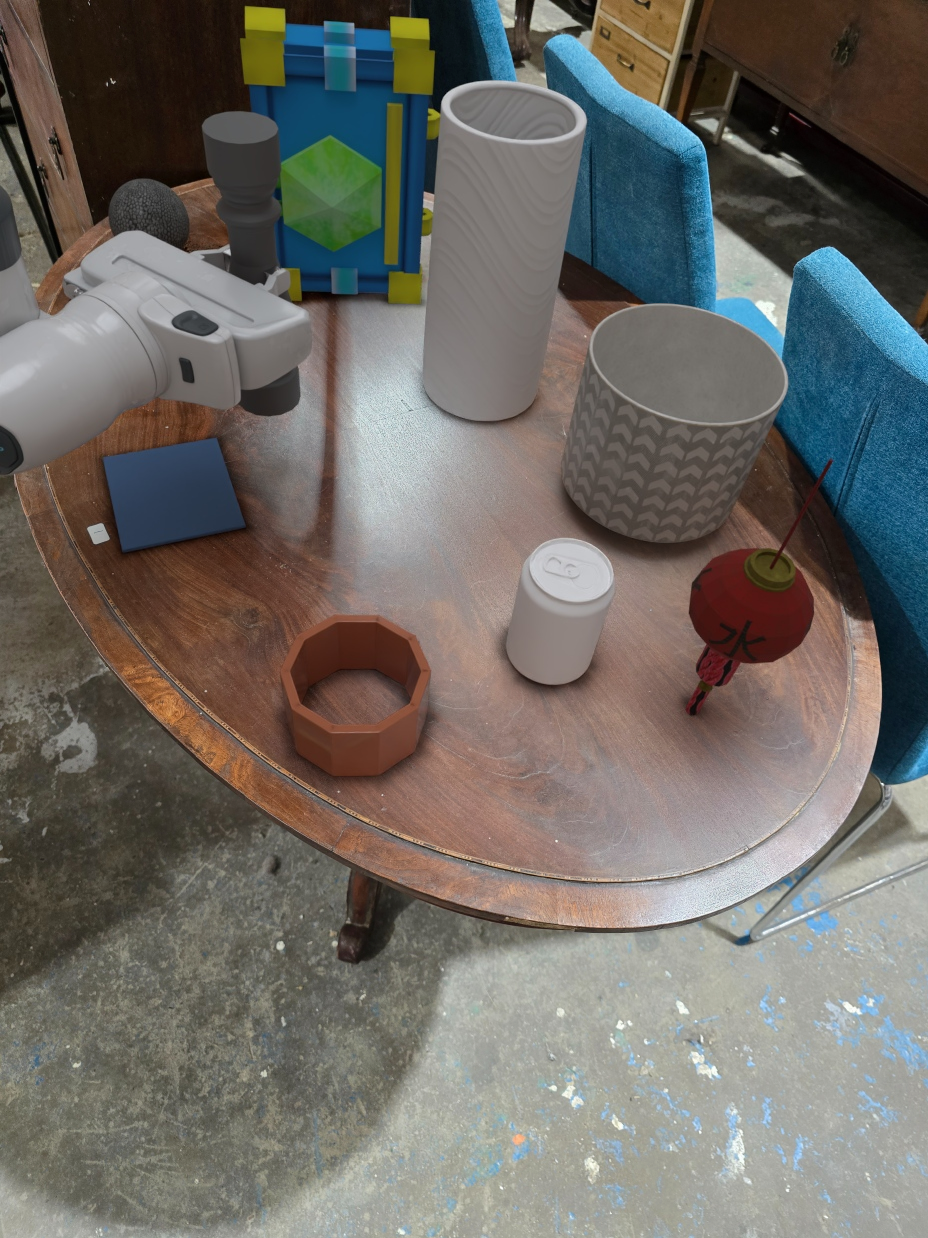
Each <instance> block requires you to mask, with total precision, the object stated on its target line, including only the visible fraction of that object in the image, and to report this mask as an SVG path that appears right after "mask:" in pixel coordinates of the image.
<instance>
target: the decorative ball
mask: <svg viewBox="0 0 928 1238" xmlns="http://www.w3.org/2000/svg"><path fill="white" fill-rule="evenodd" d="M107 213H108V223H109V227H110V231H111V233H112V235H113V237H115V236H117V235H119V234H120V233H123V232H126V231H136V230H137V231H143V232H145V233H147V234H149V235H151V236H153V237H155V238H157V239H159V240H162V241H164V242H166V243H168V244H170V245H172V246H174V247H176V248H178V249H180V250H182V251H183V249H184V248H185V246H186V244H187V242H188V240H189V237H190V229H191V227H190V218H189V217H190V216H189V213H188V210H187V207H186V206H185V204H184V202H183V200H182V199H181V198H180V196H179V195H178V194H177V193H176V192H175V191H174V189H172V188H171V187H169V185H166V184H164V183H163V182H161V181H157V180H155V179H151V178H136V179H131V180H130V181H126V182H125V183H124V184H122V185H121V186H119V187H118V189H117V190H116V191H115V192H114V194H113V196H112V197H111V200H110V202H109V206H108V212H107Z"/></svg>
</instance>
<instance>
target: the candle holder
mask: <svg viewBox="0 0 928 1238" xmlns="http://www.w3.org/2000/svg"><path fill="white" fill-rule="evenodd" d="M201 130H202V131H201V132H202V139H203V146H204V152H205V160H206V166H207V171H208V174H209V176H210V177H211V178H212V181H213V184H214V186H215V188H216V189H218V190H219V193H220V196H221V197H220V198H219V199H218V200H217V203H216V205H215V210H216V213H217V216H218V218H219V220H220V221H222V222H223V223H224V225H225V226H226V230H227V236H228V237H227V238H228V244H229V246H230V254H231V258H230V266H229V273H230V274H232V275H234V276H236V277H238V278H240V279H242V280H245V281H247V282H249V283H251V284H253V285H256V284H257V283H261V284H263V286H264V285H265V283H266V281H265V277H264V273H263V271H265V270H267V269H270V268H272V267H273V266H275V265H277V266H279V267H280V264H279V261H278V258H277V252H276V240H275V228H274V225H275V223H276V221H278V220H279V217H280V215H281V206H280V203H279V201H278V200H277V199H275V198H274V197H272V196H273V193H274V189H275V188H276V185H277V183H278V181H279V178H278V177H279V175H280V173H281V158H280V145H279V131H278V127H277V125H276V123H275V122H274V121H273V120H271V119H270V118H268V117H266V116H263V115H260V114H257V113H252V112H251V111H242V110H239V111H224V112H220V113H215V114H213V115H210V116H209V117H208V118H205V119H204V121H203V123H202V125H201ZM278 297H280V298H282V299H284V300H286V301H288V302H290V303H292V304H293V301H291V298H290V295H289V292H288V290H286V291H285V292H283V293H282V294H280V295H278ZM301 396H302V395H301V381H300V368H299V365H298V366H296V367H295V368H294V369H292V370H291V371H289V372H288V373H286V374H285V375H283V376H281V377H280V378H278V379H276V380H275V381H273V382H271V383H270V384H268V385H266V386H263V387H261V388H258V389H253V390H242V389H241V400H240V402H239V403H238V405H239V407H241V408H242V409H243V410H244V411H245V412H247V413H250V414H252V415H255V416H260V417H267V418H268V417H270V418H271V417H276V416H282V415H284V414H287V413H289V412H291V411H293V410H294V409H295V408H296V407H297V406H298V405H299V403H300V400H301Z"/></svg>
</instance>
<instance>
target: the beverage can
mask: <svg viewBox="0 0 928 1238" xmlns="http://www.w3.org/2000/svg"><path fill="white" fill-rule="evenodd" d="M616 586H617V585H616V579H615V575H614V567H613V565H612V562H611V561H610V559H609V558H608V557H607V555H606V554H605V553H604V552H603V551H602V550H601V549H599V548H598V547H597V546H595V545H594V544H591V543H589V542H587V541H585V540H581V539H578V538H574V537H573V538H572V537H557V538H553V539H549V540H546V541H545V542H542V543H541V544H540V545H538V546H537V547H536V548H535V549H534V550H533V551H532V553H531V554H529V556H528V557H527V558H526V559H525V561H524V563H523V565H522V567H521V570H520V575H519V580H518V584H517V589H516V593H515V598H514V604H513V608H512V612H511V617H510V622H509V627H508V631H507V636H506V640H505V649H506V655H507V657H508V659H509V661H510V663H511V665H513V667H514V668H515V669H516V670H517V671H518V672H519V673H520V674H521V675H522V676H524V677H526V678H527V679H529V680H531V681H534V682H536V683H539V684H544V685H549V686H550V685H551V686H555V685H565V684H568V683H572V682H574V681H576V680H577V679H579V678H580V677H582V676H583V675H584V673H586V672H587V670H588V668H589V667H590V665H591V662H592V659H593V656H594V654H595V650H596V648H597V645H598V642H599V639H600V637H601V634H602V631H603V629H604V625H605V623H606V620H607V617H608V614H609V612H610V608H611V606H612V603H613V600H614V597H615V594H616Z"/></svg>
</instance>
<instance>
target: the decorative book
mask: <svg viewBox="0 0 928 1238" xmlns="http://www.w3.org/2000/svg"><path fill="white" fill-rule="evenodd" d="M389 20H390V21H389V29H388V30H387V29H386V30H385V29H371V28H357V27H356V28H355V23H354V22H345V21H344V22H342V21H328V20H324V21H323V25H314V24H313V25H311V24H299V23H297V24H296V23H287V22H286V9H285V8H277V7H276V8H275V7H262V6H247V5H244V32H245V38H243V37H240V38H239V42H240V43H239V44H240V52H241V53H240V55H241V62H242V63H241V64H242V73H243V83H244V85H248V88H249V89H248V91H249V101H250V112H251V113H257V114H260V115H263V116H266V117H268V118H270V119H271V120H273V121H274V122H275V123H276V125H277V127H278V131H279V145H280V158H281V173H280V175H279V177H278V178H279V181H278V183H277V185H276V188H275V189H274V193H273V196H272V197H274V198H275V199H277V200H278V201H279V203H280V206H281V215H280V217H279V220H278V221H276V223H275V225H274V228H275V240H276V252H277V258H278V261H279V264H280V267H281V268H283V269H286V270H288V271H289V272H290V282H291V284H290V287H289V289H288V292H289V295H290V298H291V301H292V302H302V301H303V299H302V298H303V297H302V295H303V294H302V292H320V293H324V292H325V293H331V294H332V295H333V294H334V295H358V293H359V294H360V293H361V294H364V293H365V294H387V299H388V300H387V301H388V302H387V303H388V304H393V305H395V304H396V305H406V304H407V305H421V304H422V291H423V290H422V286H423V268H422V263H421V255H422V254H421V253H422V237H428V236H431V232H432V219H433V210H430V208H427V207H424V199H425V198H424V197H425V178H426V160H427V159H426V158H427V142H428V141H429V140H435V139H437V138H439V127H440V114H441V113H440V112H438V111H436V110H435V109H434V108H429V102H430V96H433V92H434V75H435V74H434V73H435V54H436V51H435V50H430V41H431V40H430V24H429V23H430V21H429V18H418V17H405V16H390V17H389Z"/></svg>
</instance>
